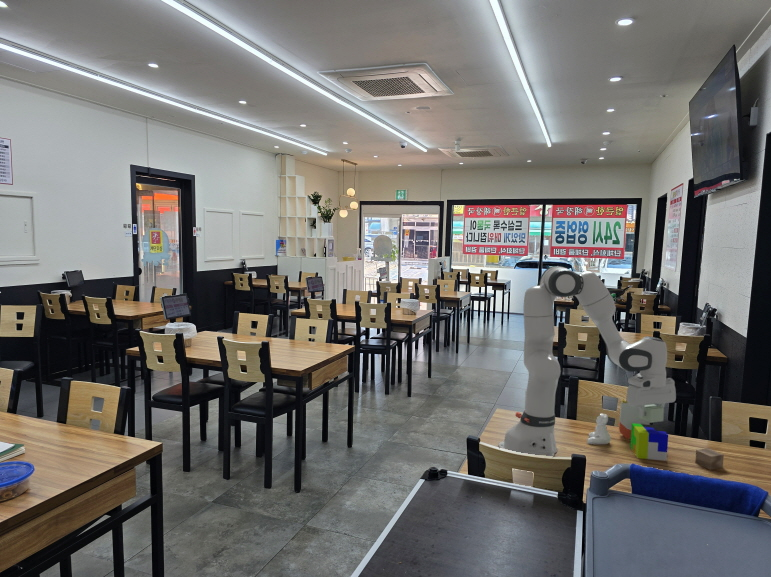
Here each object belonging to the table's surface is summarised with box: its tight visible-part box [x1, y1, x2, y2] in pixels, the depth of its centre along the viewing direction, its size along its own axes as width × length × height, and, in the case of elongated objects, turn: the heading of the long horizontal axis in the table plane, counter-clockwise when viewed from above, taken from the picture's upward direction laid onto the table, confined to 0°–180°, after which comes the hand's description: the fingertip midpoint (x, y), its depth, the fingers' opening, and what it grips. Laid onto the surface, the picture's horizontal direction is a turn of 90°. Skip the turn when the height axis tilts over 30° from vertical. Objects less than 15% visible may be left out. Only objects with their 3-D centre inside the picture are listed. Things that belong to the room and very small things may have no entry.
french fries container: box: [618, 395, 651, 440], centre depth 209 cm, size 5×11×18 cm, turn 68°
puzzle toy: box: [630, 423, 669, 461], centre depth 193 cm, size 10×10×10 cm
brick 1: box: [638, 404, 665, 424], centre depth 192 cm, size 6×6×5 cm
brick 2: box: [694, 448, 725, 471], centre depth 184 cm, size 6×6×5 cm
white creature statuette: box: [586, 413, 612, 445], centre depth 204 cm, size 10×9×12 cm
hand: (650, 415), depth 192 cm, fingers closed on brick 1, 6 cm apart
